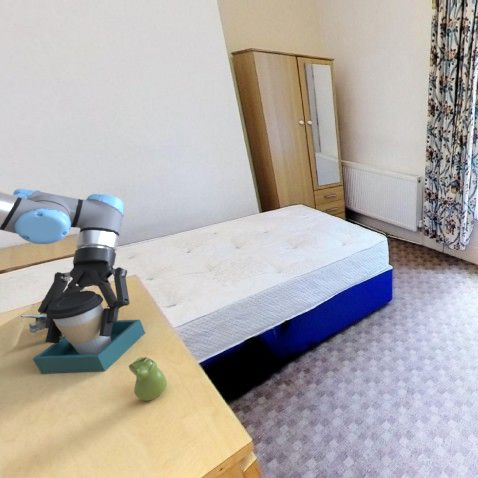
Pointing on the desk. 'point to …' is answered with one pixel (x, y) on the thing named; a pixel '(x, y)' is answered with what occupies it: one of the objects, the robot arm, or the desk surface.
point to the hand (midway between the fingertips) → (79, 339)
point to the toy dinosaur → (38, 322)
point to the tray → (70, 361)
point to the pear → (148, 379)
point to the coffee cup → (80, 320)
